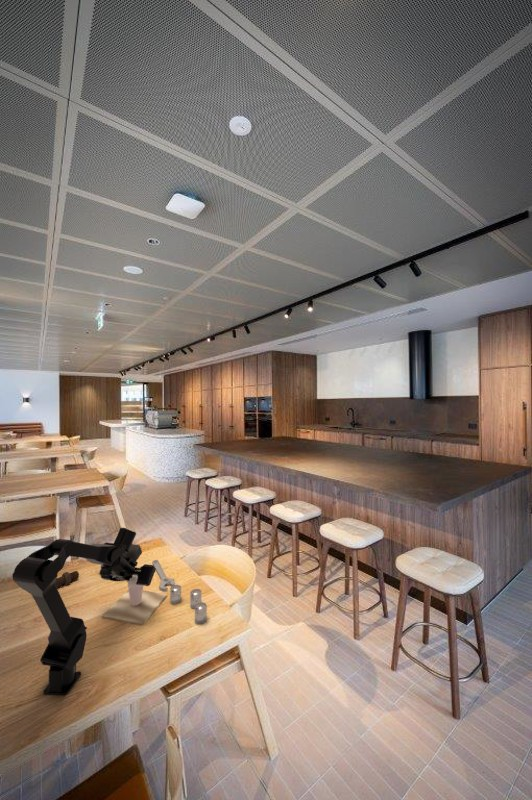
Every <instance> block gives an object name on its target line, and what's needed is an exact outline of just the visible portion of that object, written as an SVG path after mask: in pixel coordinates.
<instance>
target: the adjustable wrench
mask: <svg viewBox="0 0 532 800" xmlns="http://www.w3.org/2000/svg"><path fill="white" fill-rule="evenodd" d="M151 565H153V566H155V568H156V570H155V573H156V574H157V575H158V578H159V579H160V583H159V585H158V588H159V589H158V590H159V591H160V592H164V593H165V592H168V586H169V587H170V588H171V587H172V586H174V585H176V581H175V578H170V577H168V576H167V575H166V574H165V571H164V568H163V567H162V565H161V563H160V561H159V560H158V559H154V560H152V564H151Z"/></svg>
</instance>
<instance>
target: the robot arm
mask: <svg viewBox="0 0 532 800" xmlns="http://www.w3.org/2000/svg"><path fill="white" fill-rule="evenodd" d="M136 536H137V532H136V531H134V530H130V529H127V527H120V529H119V530H118V533H117V536H116V537H115V539H114V542H103V543H93V544H87V543H82V542H77V541H74V540H71V539H64V538H58V539H54V540H53V541H51V542H50V543H49V544H47V545H46V546H44V547H41V548H40V549H38V550H35V551H34V552H31V553H30V554H29V555H28V556H27V557H24V558H23V559H22V560H20V561H19V562H18V564H17V565H16V566H15V568H14V570H13V572H12V581H13V582H14V583H15V584H16V585H17V586H18V587H19V588H20V589H21V590H24V591H25V592H27V593H28V594H30V595H31V596H32V598H33V599H34V601H35V604H36V605H37V607H38V609H39V612H40V613H41V615H42V617H43V619H44V621H45V623H46V624H47V627H48V628H49V630H50V632H49V634H48V638H47V641H48V644H47V645H46V648H45V649H44V652H43V654H42V656H41V657H40V659H39V661H40V663H41V665H42V666H48V667H49V669H48V684H47V685H46V687H45V688H44V690H43V692H42V694H43V695H44V694H45V695H60V696H61V695H62V696H66V695H68V694H69V692H70V690H71V689H72V688H73V686H75V684H76V682H77V681H78V680H79V678H80V676H81V675H82V671H77V663H79V662H80V660H81V659H82V658H83V655H84V651H85V646H86V641H87V637H88V635H87V631H86V630H87V629H88V627H86V625H85V621H84V619H83V618H79V617H75V616H70V613H69V611H68V609H67V607H66V605H65V603H64V601H63V598H62V596H61V594H60V592H59V590H58V587H56V585H55V581H56V578H58V573H60V571H62V569H63V568H64V567H65V564H66V561H67V559H68V558H69V557H73V558H81V559H85V560H86V561H87V562H89V563H91V564H96V565H100V570H99V575H100V578H101V579H102V580H104V581H105V580H106V581H112V582H125V581H126V582H127V581H129V580H130V578H132V576H133V575H137V577H138V579H137V582H136V585H143V587H144V586H145V587H149V586H150V585H151V583H152V580H153V577H154V575H155V573H156V568H155V566H153V564H146V563H144V564H143V565H142V566H140V567H137V566H138V563H139V562H137V561H138V560H139V558H140V557H141V555H142V554H143V550H142V546H141V545H140V544H135V543H134V541H135V538H136ZM54 556H57V557H55V559H53V560H52V558H53V557H54ZM101 565H102V567H101Z"/></svg>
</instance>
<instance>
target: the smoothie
mask: <svg viewBox="0 0 532 800" xmlns="http://www.w3.org/2000/svg"><path fill="white" fill-rule="evenodd" d="M137 579H138V577H137V575H133V576H132V578H130V580H129V581H126V583H127V587H128V590H129V597H130V604H131V605H133V606H135V605H138V604H140V603H141V599H142V592H143V591H144V586H143V585H136V582H137Z"/></svg>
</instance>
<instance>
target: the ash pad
mask: <svg viewBox="0 0 532 800" xmlns="http://www.w3.org/2000/svg"><path fill="white" fill-rule="evenodd" d="M167 598H168V594H167V593H160V592H157V591H156V592H154V591H148V590H143V592H142V599H141V603H140V604H138V605H135V606H133V605H131V604H130V597H129V589H128V591H126V593H124V594H123V595H122V596H121V597H120V598H118V600H117V601H116V602H115V603H113V604H112V605H111V607H108V609H107V610H106V611H105V612H104V613H102V615H101V618H102V619H106V620H111V621H117V622H123V623H127V624H128V623H130V624H134V625H139V626H144V625H145V623H146V622H147V621H148V620H149V619H150V617H151V616H152V615H153V614H154V613H155V612H156V610H157V609H158V608H160V606H161V604H162V603H163V602H164V601H165V600H166V599H167ZM148 618H149V619H148ZM147 619H148V620H147Z"/></svg>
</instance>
